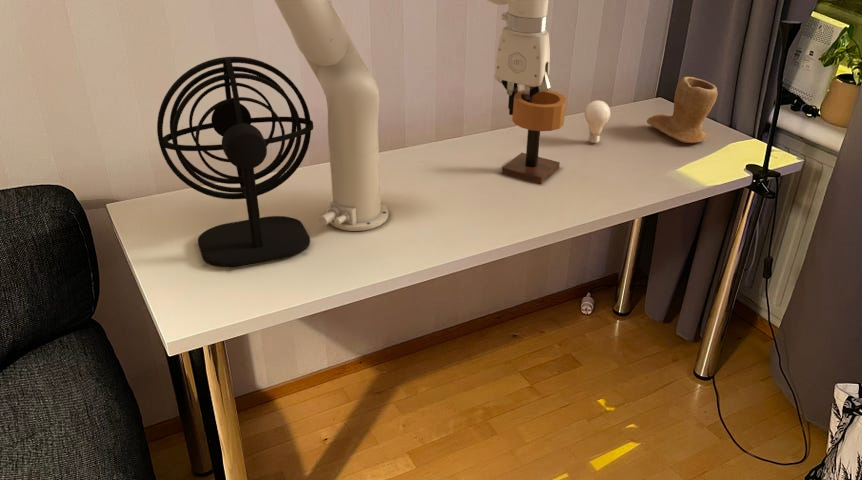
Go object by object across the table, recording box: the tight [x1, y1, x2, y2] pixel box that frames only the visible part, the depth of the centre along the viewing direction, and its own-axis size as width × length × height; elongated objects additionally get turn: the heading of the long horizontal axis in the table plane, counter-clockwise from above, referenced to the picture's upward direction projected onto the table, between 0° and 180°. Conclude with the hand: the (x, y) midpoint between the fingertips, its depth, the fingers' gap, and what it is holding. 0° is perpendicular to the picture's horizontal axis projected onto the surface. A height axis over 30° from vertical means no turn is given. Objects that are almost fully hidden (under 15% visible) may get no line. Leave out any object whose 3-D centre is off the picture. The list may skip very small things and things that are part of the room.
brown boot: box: [646, 76, 718, 144], centre depth 201 cm, size 15×12×15 cm
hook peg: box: [525, 129, 541, 167], centre depth 178 cm, size 3×3×13 cm
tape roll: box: [511, 89, 568, 132], centre depth 157 cm, size 10×10×5 cm
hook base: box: [501, 152, 560, 185], centre depth 182 cm, size 10×10×2 cm
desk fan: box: [156, 56, 314, 269], centre depth 141 cm, size 27×18×35 cm, turn 115°
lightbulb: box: [584, 99, 612, 144], centre depth 195 cm, size 6×6×11 cm
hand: (519, 113), depth 160 cm, fingers closed on tape roll
